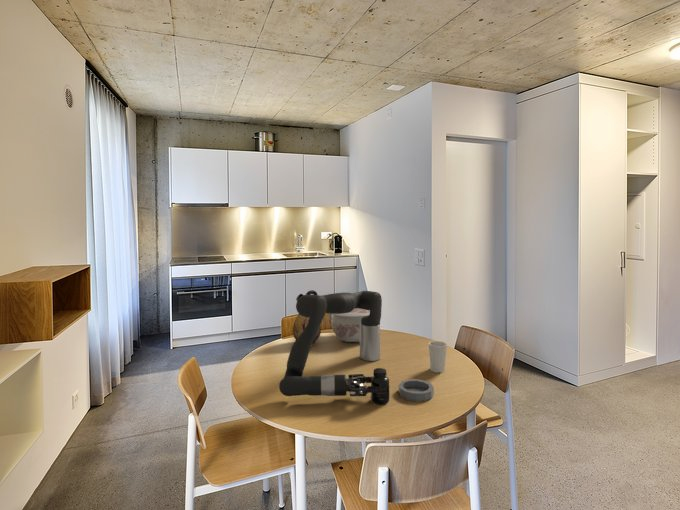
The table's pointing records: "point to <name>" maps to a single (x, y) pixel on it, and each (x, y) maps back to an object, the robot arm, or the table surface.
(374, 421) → the table surface
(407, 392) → the dish
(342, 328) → the chamber pot
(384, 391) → the supplement bottle
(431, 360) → the cup
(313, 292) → the ceramic jug
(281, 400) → the table surface
